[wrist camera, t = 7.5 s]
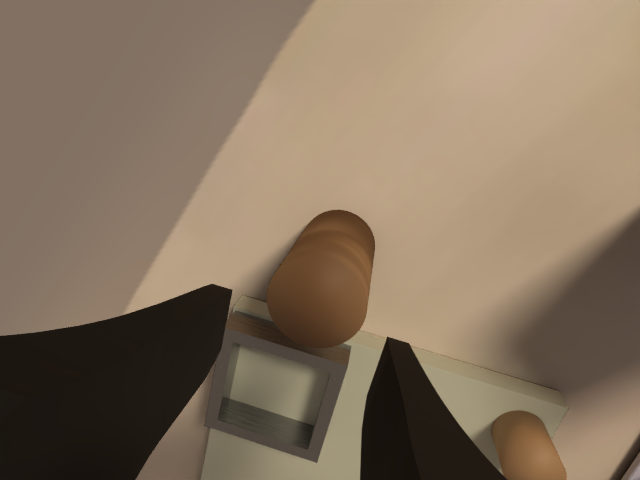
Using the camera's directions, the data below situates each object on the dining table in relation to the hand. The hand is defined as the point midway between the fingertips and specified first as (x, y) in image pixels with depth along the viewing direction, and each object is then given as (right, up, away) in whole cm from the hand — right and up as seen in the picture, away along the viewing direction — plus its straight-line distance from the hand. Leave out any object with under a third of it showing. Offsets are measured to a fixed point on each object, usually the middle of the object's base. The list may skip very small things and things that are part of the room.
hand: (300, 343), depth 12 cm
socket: (-1, -4, +9) cm, 10 cm away
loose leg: (+1, +3, +8) cm, 8 cm away
